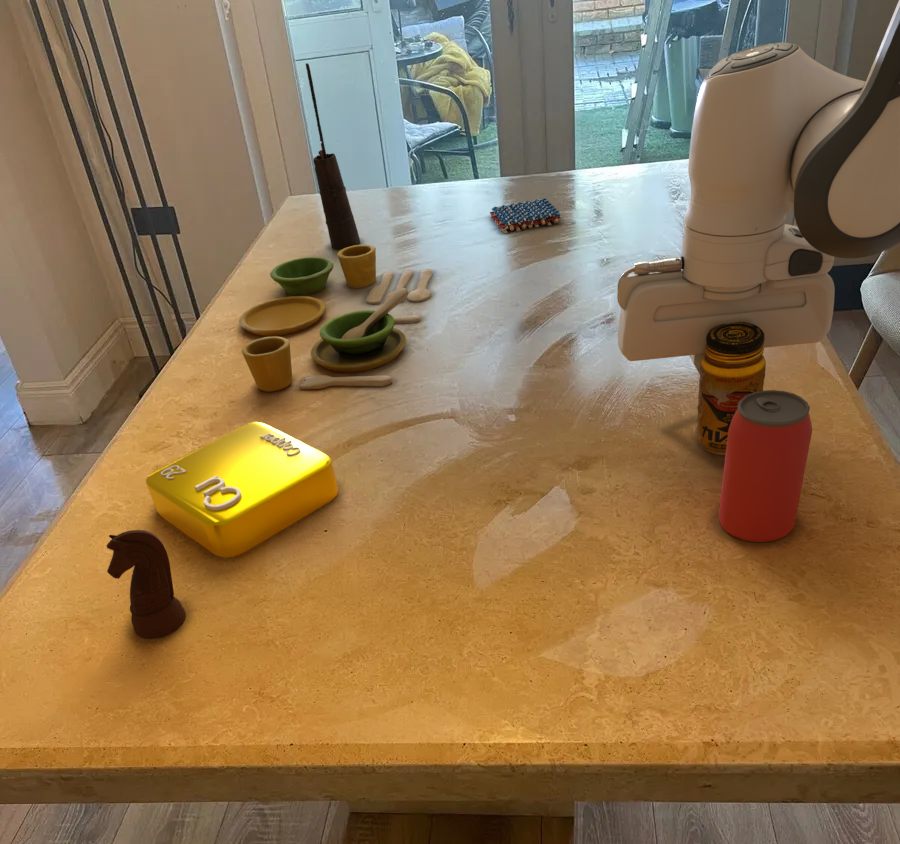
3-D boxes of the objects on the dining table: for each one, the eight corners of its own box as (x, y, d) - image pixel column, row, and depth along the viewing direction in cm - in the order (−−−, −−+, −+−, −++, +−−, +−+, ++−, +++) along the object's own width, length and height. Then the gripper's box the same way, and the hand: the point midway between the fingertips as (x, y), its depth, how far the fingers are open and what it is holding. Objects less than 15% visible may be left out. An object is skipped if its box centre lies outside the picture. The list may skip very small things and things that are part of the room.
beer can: (763, 496, 80) (781, 379, 72) (810, 532, 75) (835, 411, 68) (703, 516, 79) (715, 400, 71) (747, 555, 74) (764, 434, 66)
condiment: (720, 467, 85) (730, 356, 77) (667, 432, 91) (671, 325, 83) (777, 443, 86) (793, 331, 78) (722, 410, 92) (731, 303, 84)
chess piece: (130, 619, 77) (87, 530, 70) (185, 598, 78) (147, 509, 72) (141, 648, 74) (97, 558, 67) (198, 625, 75) (160, 535, 69)
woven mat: (488, 218, 152) (487, 206, 150) (545, 208, 152) (545, 196, 151) (501, 235, 144) (500, 223, 142) (562, 225, 145) (561, 212, 143)
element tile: (347, 494, 88) (338, 454, 85) (227, 565, 81) (212, 525, 78) (266, 450, 97) (255, 413, 94) (151, 511, 90) (135, 473, 87)
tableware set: (393, 393, 105) (384, 344, 100) (184, 400, 110) (168, 355, 105) (442, 269, 135) (437, 228, 131) (277, 279, 140) (268, 240, 136)
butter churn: (321, 238, 154) (284, 58, 135) (373, 233, 153) (343, 51, 134) (313, 256, 147) (273, 69, 129) (367, 250, 146) (334, 61, 128)
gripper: (624, 276, 77) (619, 412, 86) (853, 252, 76) (824, 392, 85) (612, 253, 82) (609, 384, 91) (828, 229, 81) (803, 364, 90)
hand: (715, 388), depth 88 cm, fingers closed
